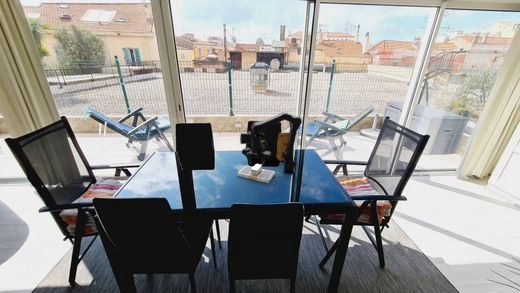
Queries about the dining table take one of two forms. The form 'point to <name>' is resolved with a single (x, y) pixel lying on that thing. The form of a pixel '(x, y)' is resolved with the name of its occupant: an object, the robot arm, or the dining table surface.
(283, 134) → the coffee package
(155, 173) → the dining table surface
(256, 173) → the grey block
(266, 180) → the rack
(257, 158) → the magazine
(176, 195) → the dining table surface
